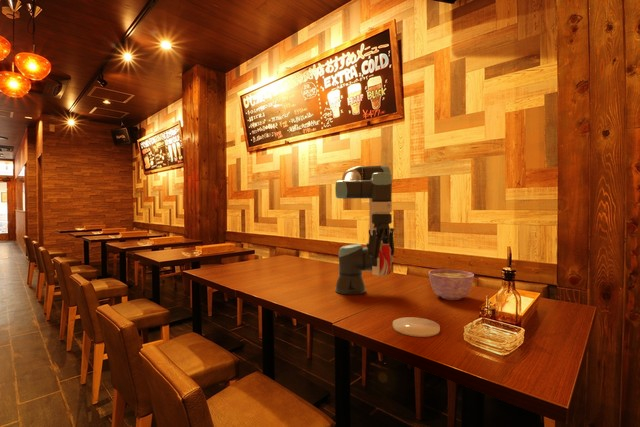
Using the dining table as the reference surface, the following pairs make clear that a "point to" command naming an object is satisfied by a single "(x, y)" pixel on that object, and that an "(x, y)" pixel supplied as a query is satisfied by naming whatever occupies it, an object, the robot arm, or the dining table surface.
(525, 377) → the dining table surface
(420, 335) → the plate
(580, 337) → the dining table surface
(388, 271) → the soda can
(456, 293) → the bowl of food
